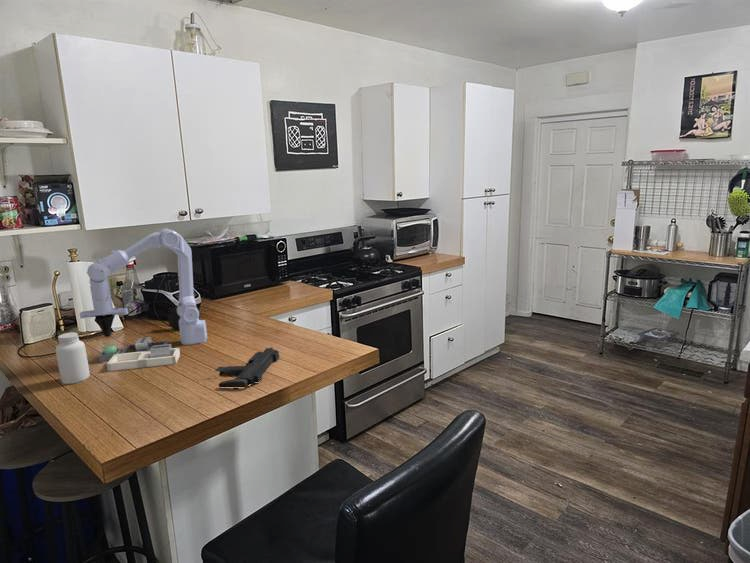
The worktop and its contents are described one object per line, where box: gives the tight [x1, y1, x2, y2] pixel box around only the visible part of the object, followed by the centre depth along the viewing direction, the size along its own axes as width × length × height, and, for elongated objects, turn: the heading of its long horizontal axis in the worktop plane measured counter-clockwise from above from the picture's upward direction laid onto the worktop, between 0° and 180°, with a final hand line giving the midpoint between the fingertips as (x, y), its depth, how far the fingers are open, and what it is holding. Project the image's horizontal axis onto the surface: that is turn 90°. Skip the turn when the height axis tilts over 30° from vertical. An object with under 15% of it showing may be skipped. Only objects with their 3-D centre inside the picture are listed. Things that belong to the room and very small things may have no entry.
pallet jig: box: [106, 347, 181, 372], centre depth 165 cm, size 21×9×4 cm, turn 103°
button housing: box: [98, 347, 123, 364], centre depth 171 cm, size 6×6×3 cm
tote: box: [121, 340, 169, 354], centre depth 175 cm, size 14×12×2 cm
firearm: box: [214, 347, 280, 388], centre depth 160 cm, size 3×30×20 cm
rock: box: [166, 307, 202, 330], centre depth 203 cm, size 13×4×10 cm, turn 91°
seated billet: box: [150, 343, 173, 358], centre depth 166 cm, size 4×6×5 cm, turn 103°
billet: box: [134, 336, 153, 352], centre depth 175 cm, size 4×6×5 cm, turn 13°
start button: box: [103, 344, 118, 355], centre depth 171 cm, size 4×4×3 cm
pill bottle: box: [55, 331, 91, 385], centre depth 154 cm, size 8×8×15 cm
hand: (107, 335), depth 170 cm, fingers closed
